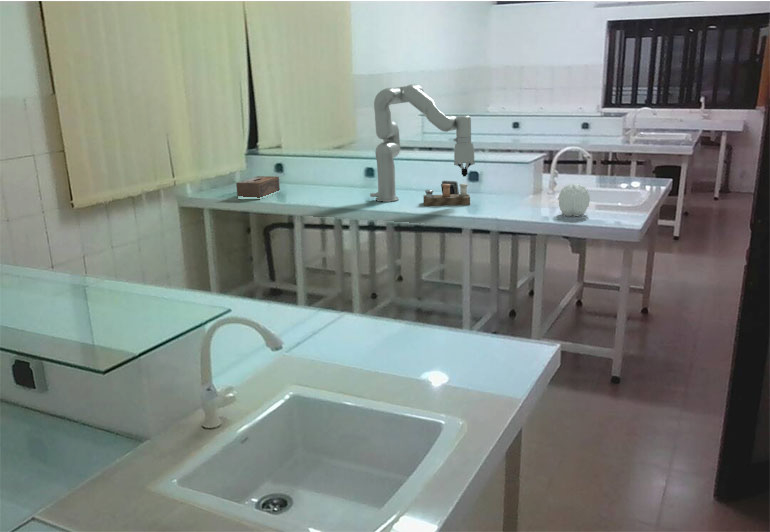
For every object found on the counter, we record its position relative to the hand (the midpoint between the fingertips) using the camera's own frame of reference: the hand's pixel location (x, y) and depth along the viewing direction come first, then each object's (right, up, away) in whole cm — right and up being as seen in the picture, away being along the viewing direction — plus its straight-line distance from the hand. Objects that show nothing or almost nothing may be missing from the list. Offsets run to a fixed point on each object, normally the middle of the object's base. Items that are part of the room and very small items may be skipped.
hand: (464, 176), depth 340 cm
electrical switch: (-5, -9, +24) cm, 26 cm away
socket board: (-9, -14, +5) cm, 17 cm away
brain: (+47, -23, -32) cm, 61 cm away
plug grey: (-18, -14, +5) cm, 23 cm away
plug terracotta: (-9, -11, +4) cm, 15 cm away
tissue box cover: (-116, -6, +49) cm, 126 cm away
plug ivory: (0, -11, +3) cm, 11 cm away
